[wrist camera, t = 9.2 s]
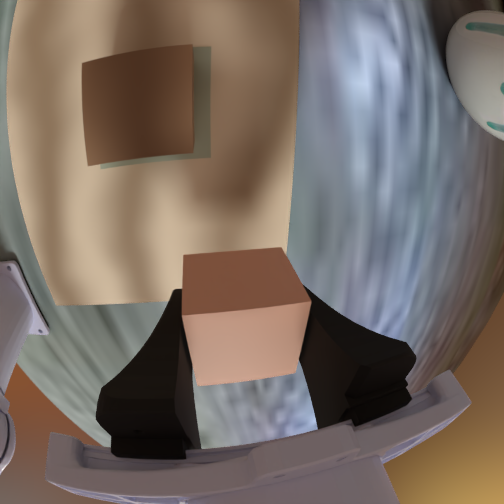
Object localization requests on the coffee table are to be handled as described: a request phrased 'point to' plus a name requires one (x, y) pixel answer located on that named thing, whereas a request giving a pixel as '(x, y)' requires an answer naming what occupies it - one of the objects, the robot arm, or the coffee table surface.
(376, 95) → the coffee table surface
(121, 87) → the walnut block
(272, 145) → the birch board
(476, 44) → the vase
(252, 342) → the terracotta block
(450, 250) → the coffee table surface
